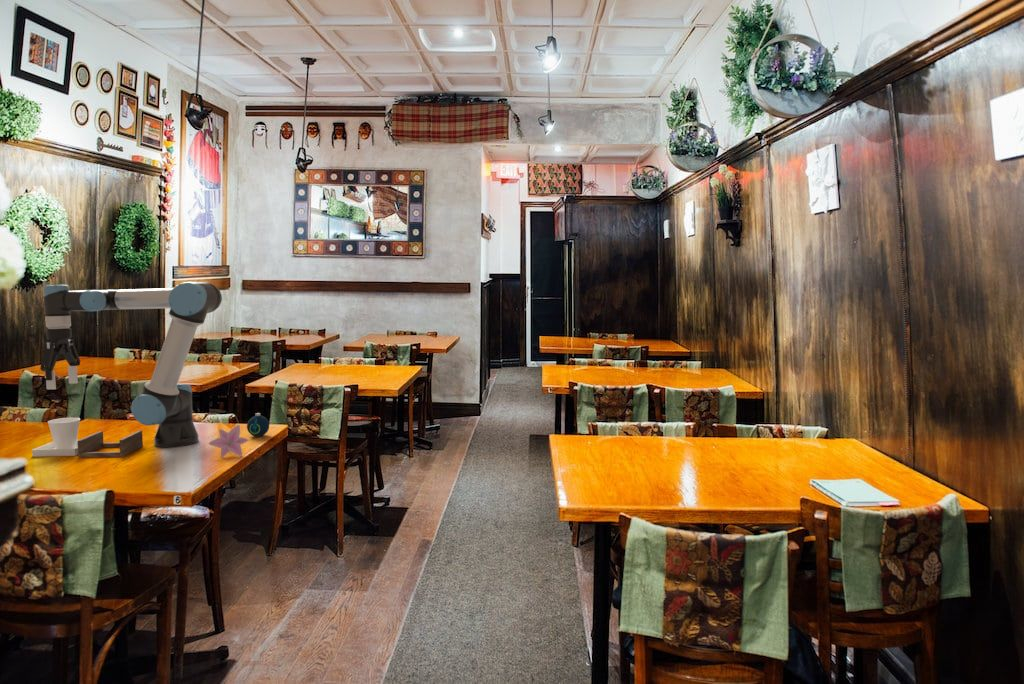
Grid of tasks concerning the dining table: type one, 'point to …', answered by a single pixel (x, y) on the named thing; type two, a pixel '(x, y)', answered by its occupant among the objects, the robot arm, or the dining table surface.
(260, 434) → the christmas ornament
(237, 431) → the lily
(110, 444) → the cup holder
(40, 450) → the tray
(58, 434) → the cup
